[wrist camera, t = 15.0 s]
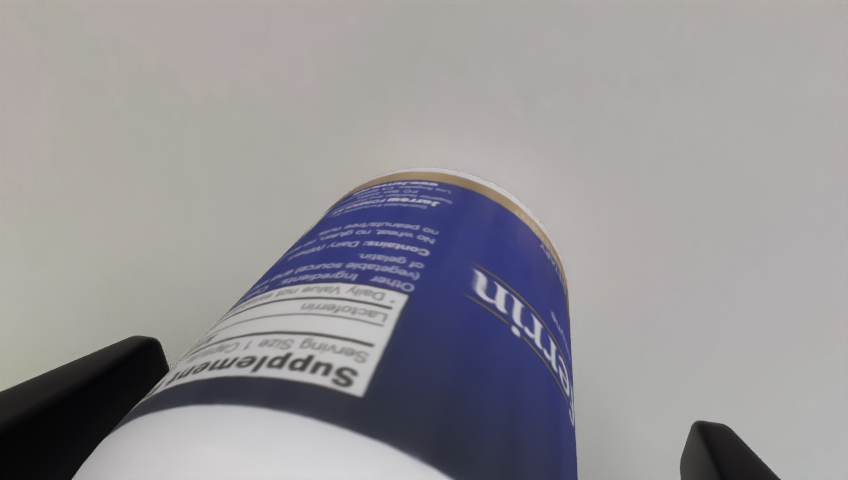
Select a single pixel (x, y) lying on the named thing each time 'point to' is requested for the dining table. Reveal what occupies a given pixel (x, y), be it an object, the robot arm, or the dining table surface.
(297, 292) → the pill bottle
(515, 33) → the dining table surface
